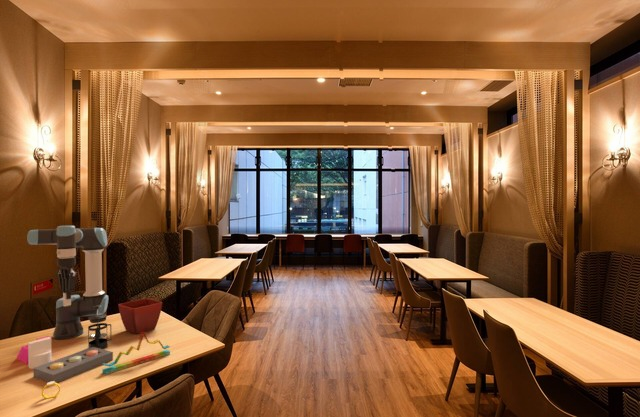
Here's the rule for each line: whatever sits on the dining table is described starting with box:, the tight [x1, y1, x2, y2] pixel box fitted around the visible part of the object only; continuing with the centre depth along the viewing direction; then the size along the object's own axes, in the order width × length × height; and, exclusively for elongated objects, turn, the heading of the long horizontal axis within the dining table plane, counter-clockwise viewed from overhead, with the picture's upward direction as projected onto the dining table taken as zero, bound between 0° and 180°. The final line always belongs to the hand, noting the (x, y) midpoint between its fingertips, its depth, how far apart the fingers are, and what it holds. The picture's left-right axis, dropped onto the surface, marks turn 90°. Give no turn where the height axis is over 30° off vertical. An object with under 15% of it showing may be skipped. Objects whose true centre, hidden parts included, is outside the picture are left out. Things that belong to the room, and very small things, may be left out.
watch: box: [41, 381, 61, 400], centre depth 145 cm, size 6×3×6 cm, turn 120°
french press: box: [87, 305, 112, 350], centre depth 196 cm, size 12×9×23 cm
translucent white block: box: [27, 336, 52, 370], centre depth 175 cm, size 9×9×12 cm
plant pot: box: [118, 297, 163, 335], centre depth 224 cm, size 19×19×17 cm
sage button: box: [69, 356, 81, 363], centre depth 171 cm, size 5×5×3 cm
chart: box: [102, 332, 171, 376], centre depth 176 cm, size 30×3×15 cm, turn 137°
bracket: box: [16, 335, 50, 365], centre depth 183 cm, size 12×10×10 cm
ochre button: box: [50, 362, 64, 370], centre depth 164 cm, size 5×5×3 cm
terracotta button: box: [86, 350, 98, 357], centre depth 178 cm, size 5×5×3 cm
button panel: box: [32, 347, 114, 384], centre depth 171 cm, size 16×27×4 cm, turn 154°
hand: (67, 305), depth 173 cm, fingers closed
